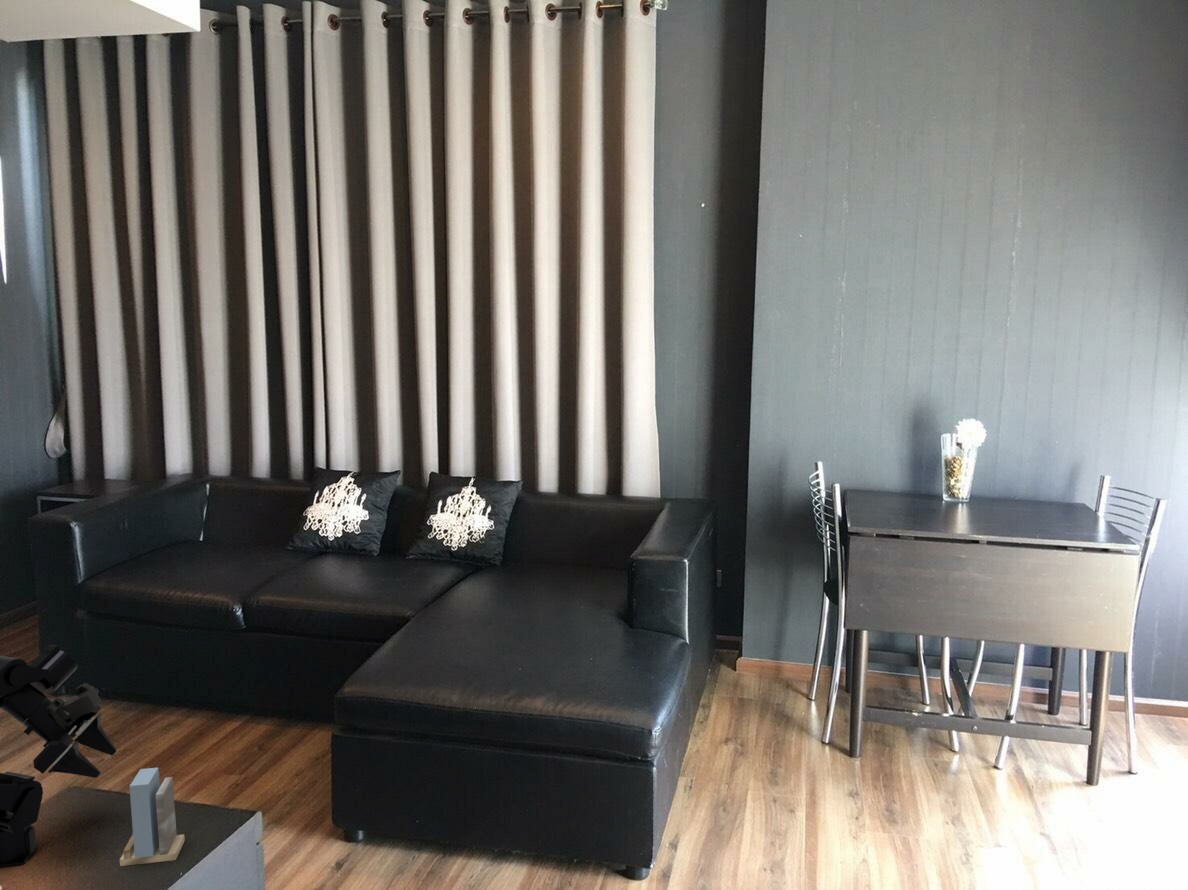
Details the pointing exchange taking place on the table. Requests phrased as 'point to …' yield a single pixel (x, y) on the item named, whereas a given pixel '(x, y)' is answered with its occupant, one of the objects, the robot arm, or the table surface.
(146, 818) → the book
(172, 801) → the book stand
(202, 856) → the table surface
